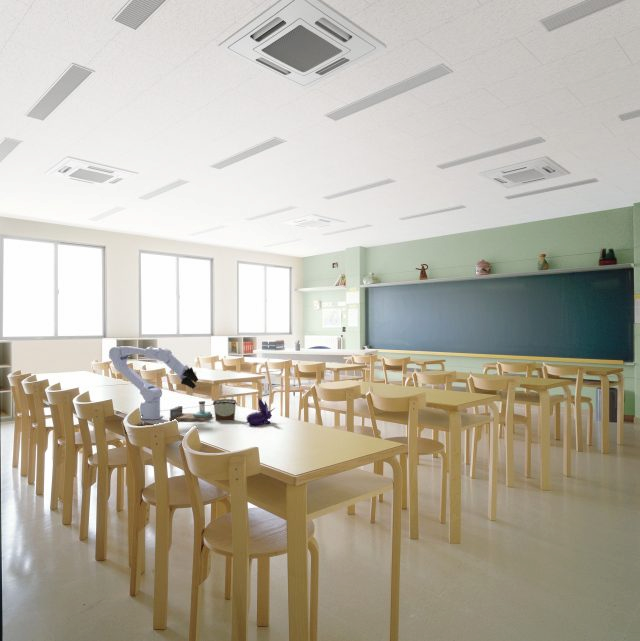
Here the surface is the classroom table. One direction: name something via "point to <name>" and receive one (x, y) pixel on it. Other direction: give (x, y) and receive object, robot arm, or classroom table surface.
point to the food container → (225, 409)
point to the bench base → (185, 415)
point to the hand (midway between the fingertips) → (195, 384)
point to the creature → (260, 415)
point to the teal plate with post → (202, 410)
